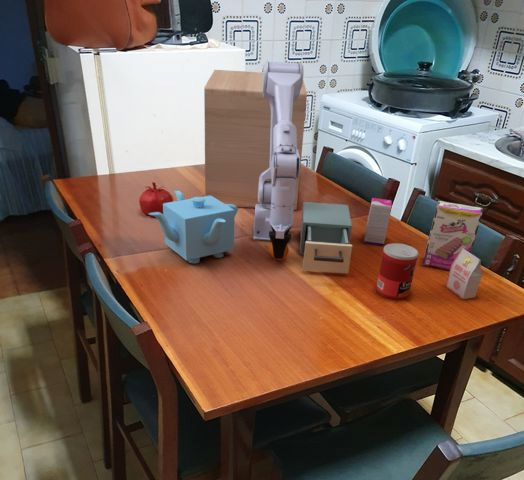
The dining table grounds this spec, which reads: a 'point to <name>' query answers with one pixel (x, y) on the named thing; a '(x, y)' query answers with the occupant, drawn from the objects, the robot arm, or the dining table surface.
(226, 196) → the storage cube
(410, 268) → the canned food
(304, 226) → the cabinet
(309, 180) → the dining table surface
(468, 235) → the candy bar box
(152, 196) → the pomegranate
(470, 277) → the white box
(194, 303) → the dining table surface
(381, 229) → the supplement box
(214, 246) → the teakettle
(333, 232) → the drawer
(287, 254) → the orange
